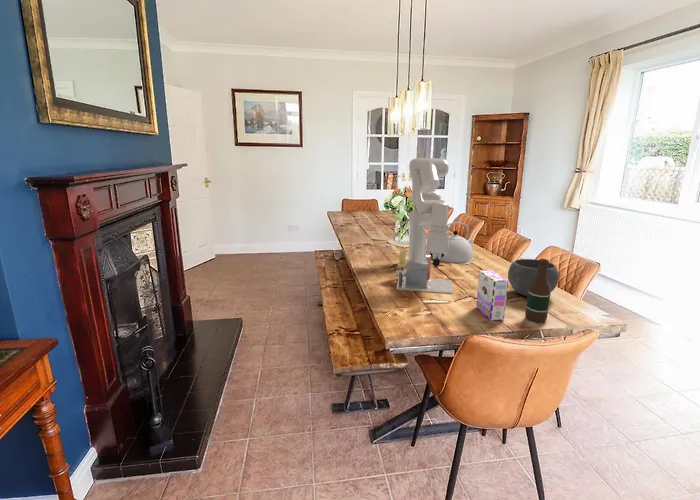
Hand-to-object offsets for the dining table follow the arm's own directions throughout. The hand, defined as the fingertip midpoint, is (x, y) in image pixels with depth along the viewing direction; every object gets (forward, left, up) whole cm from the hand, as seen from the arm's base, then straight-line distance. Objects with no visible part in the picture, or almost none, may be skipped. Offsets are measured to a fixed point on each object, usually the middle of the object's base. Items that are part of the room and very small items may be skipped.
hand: (436, 266), depth 179 cm
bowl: (-29, +32, -10) cm, 44 cm away
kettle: (-50, -31, -10) cm, 60 cm away
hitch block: (+3, -4, -10) cm, 11 cm away
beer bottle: (-6, +48, -10) cm, 49 cm away
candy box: (+5, +35, -10) cm, 37 cm away
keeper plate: (+8, -15, -2) cm, 17 cm away
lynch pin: (+8, -8, -7) cm, 13 cm away
